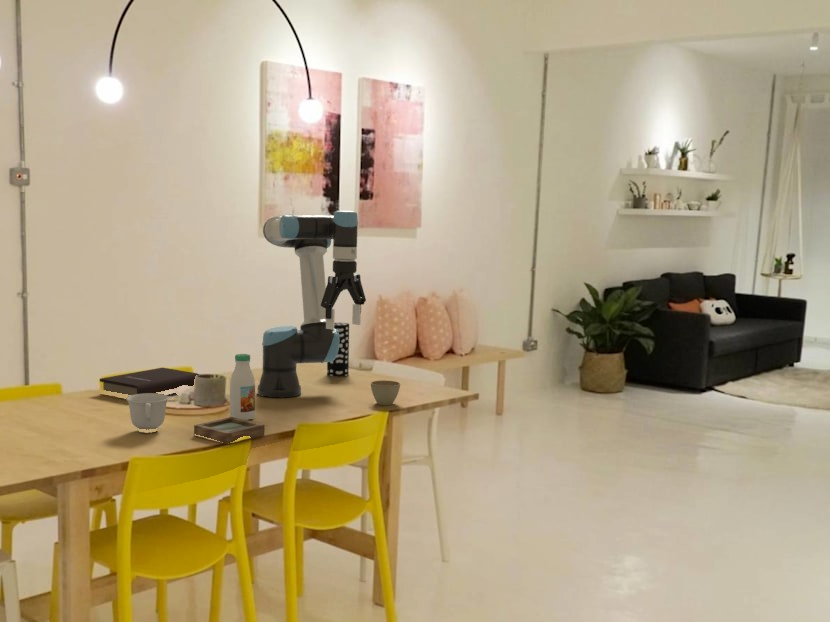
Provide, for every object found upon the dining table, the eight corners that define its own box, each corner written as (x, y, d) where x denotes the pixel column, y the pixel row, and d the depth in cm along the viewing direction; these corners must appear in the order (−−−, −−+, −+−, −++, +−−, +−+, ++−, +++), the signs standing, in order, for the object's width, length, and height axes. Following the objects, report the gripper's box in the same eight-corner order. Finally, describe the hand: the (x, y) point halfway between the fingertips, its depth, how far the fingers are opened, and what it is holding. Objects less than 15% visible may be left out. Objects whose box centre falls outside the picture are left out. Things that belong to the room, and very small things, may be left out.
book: (139, 403, 308) (139, 386, 307) (99, 395, 318) (99, 378, 318) (201, 390, 332) (201, 373, 331) (162, 383, 342) (162, 367, 341)
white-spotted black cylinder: (352, 374, 366) (353, 323, 364) (339, 377, 359) (340, 326, 357) (335, 372, 371) (336, 322, 369) (322, 375, 364) (323, 324, 362)
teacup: (125, 439, 261) (125, 404, 260) (126, 427, 275) (126, 393, 274) (170, 437, 264) (170, 403, 263) (168, 425, 278) (168, 392, 277)
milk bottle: (230, 421, 285) (230, 357, 282) (228, 416, 292) (228, 353, 290) (256, 421, 287) (256, 356, 284) (253, 415, 294) (254, 352, 292)
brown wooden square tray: (194, 436, 267) (194, 425, 266) (231, 427, 278) (231, 416, 277) (227, 444, 258) (227, 433, 258) (264, 435, 270) (264, 424, 269)
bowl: (396, 407, 310) (396, 386, 309) (367, 405, 312) (367, 384, 311) (402, 401, 319) (403, 381, 319) (374, 399, 321) (374, 379, 321)
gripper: (329, 262, 282) (328, 332, 285) (377, 259, 303) (375, 323, 306) (310, 261, 286) (309, 329, 289) (359, 257, 307) (357, 321, 310)
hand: (343, 326), depth 297 cm, fingers open, 13 cm apart
